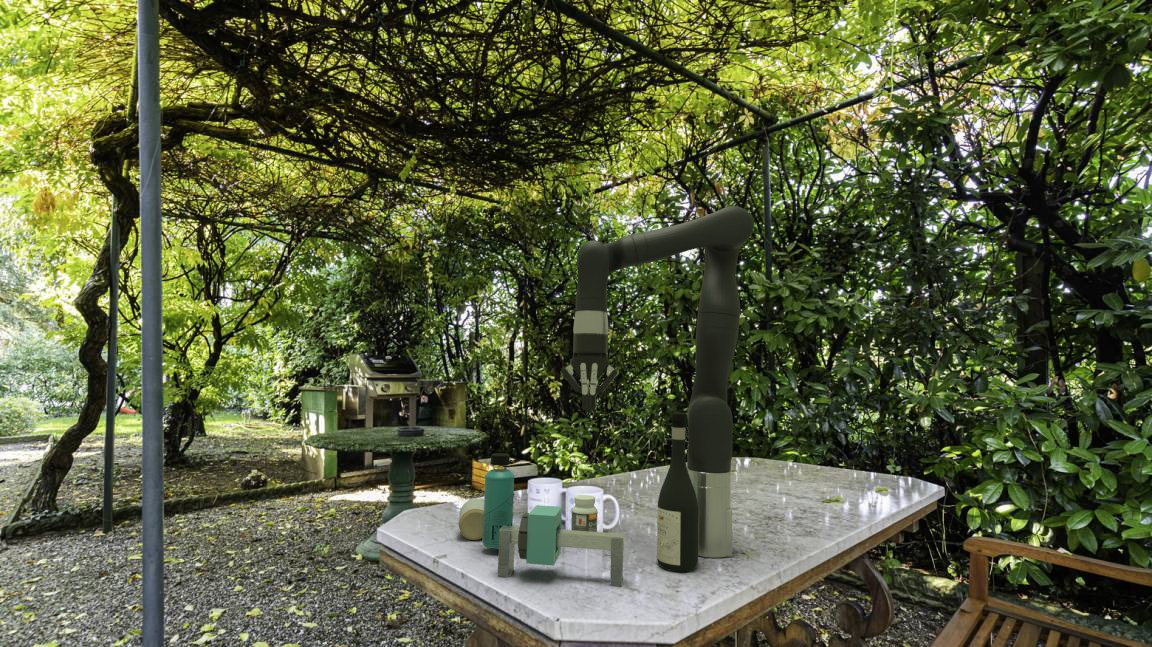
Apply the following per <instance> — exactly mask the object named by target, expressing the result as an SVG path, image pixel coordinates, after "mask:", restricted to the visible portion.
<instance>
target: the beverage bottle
mask: <svg viewBox="0 0 1152 647" xmlns="http://www.w3.org/2000/svg"><path fill="white" fill-rule="evenodd" d="M510 457H511V456H510V454H509V453H504V452H503V453H501V452H498V453H491V456H490V461H489V462H490V465H493V466H508V465H510V464H511V460H510V459H511V458H510ZM515 489H516V488H515V474H514V473H513V472H512V471H511V470H510V469H506V468H492V469H490V470H489V471H487V472H486V473H485V475H484V495H483V496H484V498H483V500H484V517H483V533H482V534H483V538H481V539H482V545H483V547H484V548H485V547H486V548H490V549H499V532H500V528H501V527H502V526H514V499H515Z"/></svg>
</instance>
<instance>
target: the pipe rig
mask: <svg viewBox="0 0 1152 647" xmlns="http://www.w3.org/2000/svg"><path fill="white" fill-rule="evenodd" d="M519 527H520V526H517V525H516V526H515V525H513V526H502V527H501V528H500V532H499V548H498V558H497V559H498V560H497V562H498V564H497V577H502V578H509V577H510V576H511V574H512V573H513V572H514V569H515V550H516V549H515V548H516V547H515V546H516V544H517V545H518V534H519ZM556 547H561V548H571V549H572V548H573V549H586V550H599V551H601V550H602V551H610V578H609V580H610V581H609V586H612V587H622V586H623V580H624V578H623V577H624V551H625V533H617V532H603V531H597V532H590V531H575V530H570V529H561V530H560V529H556Z"/></svg>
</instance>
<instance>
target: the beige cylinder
mask: <svg viewBox="0 0 1152 647" xmlns="http://www.w3.org/2000/svg"><path fill="white" fill-rule="evenodd" d="M483 517H484V499H482V498H476V497H475V498H471V499H469V500H467V501H466V502H464V503H463V504H462V506H461V507H460V509H459V516H458V530H459V531H460V533H461V535H462V536H463V537H464V538H465V539H467V540H470V541H479V540H481V539H482V538H483V534H482V533H483Z"/></svg>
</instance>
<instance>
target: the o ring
mask: <svg viewBox="0 0 1152 647" xmlns="http://www.w3.org/2000/svg"><path fill="white" fill-rule="evenodd" d="M529 513H530V512H525V513H524V514H523V515H522V516H521V518H520V523H519V526H518V527H519V534H518V544H517V549H518V550H517V552H518V555H519V559H521V560H526V558H527V529H528V514H529Z"/></svg>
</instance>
